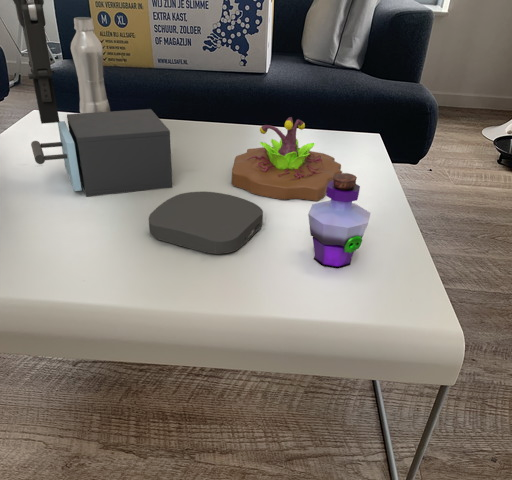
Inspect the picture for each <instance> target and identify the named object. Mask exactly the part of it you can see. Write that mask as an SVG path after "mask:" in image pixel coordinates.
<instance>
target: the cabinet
mask: <svg viewBox="0 0 512 480" xmlns="http://www.w3.org/2000/svg"><path fill="white" fill-rule="evenodd" d="M66 120H67V127H68V130H69V132H70V134H71V136H72V139H73V141H74V144H75V150H76V157H77V163H78V169H79V176H80V182H81V188H82V190H83V192H84V194H85V197H96V196H105V195H106V196H107V195H115V194H123V193H132V192H133V193H134V192H140V191H151V190H159V189H170V188H173V187H174V185H173V169H172V168H173V167H172V166H173V165H172V147H171V145H172V144H171V131H170V129H169V128H168V127H167V126H166V125H165V123H164V122H163V121H162V120H161V119H160V118H159V117H158V116H157V114H156V113H155V112H154V111H153V110H152V109H151V108H147V109H131V110H130V109H129V110H115V111H114V110H113V111H110V112H96V113H80V112H79V113H67V114H66ZM76 139H77V141H78V148H79V155H80V161H81V166H80V162H79V156H78V149H77V143H76ZM81 168H82V169H81Z"/></svg>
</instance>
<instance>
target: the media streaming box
mask: <svg viewBox="0 0 512 480" xmlns="http://www.w3.org/2000/svg"><path fill="white" fill-rule="evenodd" d="M263 217H264V211H263V209H262V208H261V206H259V205H258V204H256V203H254V202H252V201H250V200H247V199H245V198H242V197H238V196H235V195H232V194H226V193H222V192H215V191H204V190H203V191H190V192H189V191H188V192H183V193H179V194H176V195H173V196H172V197H170V198H168V199H166V200H165V201H164V202H162V203H161V204H159V205H158V206H157V207H155V209H154V210H153V211H151V213H150V214H149V215H148V228H149V234H150V235H151V236H152V237H153V238H154V239H157V240H159V241H162V242H166V243H169V244H173V245H176V246H180V247H184V248H187V249H191V250H196V251H199V252H204V253H208V254H217V255H218V254H219V255H220V254H221V255H222V254H229V253H233V252H235V251H237V250H238V249H240V248H241V247H242V246H244V244H246V243H247V242H248V241H249V240H250V239H251V238H252V237H253V236H254V235H255V234H256V233H257V232H258V231H259V230H260V229H261V228H262V226H263V221H264V220H263Z"/></svg>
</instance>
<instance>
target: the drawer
mask: <svg viewBox="0 0 512 480" xmlns="http://www.w3.org/2000/svg"><path fill="white" fill-rule="evenodd" d="M59 121H60V122H57V129H58V133H59V140H60V141H56V142H55V141H54V142H44V143H43V142H42V143H40V141H38V140H33V141H31V143H30V147H31V150H32V154H33V158H34V161H35V163H36V164H38V165H43V164H44V163H45V162H46V161H54V160H55V161H56V160H63V163H64V167H65V170H66V173H67V175H68V178H69V181H70V183H71V186H72V189H73V191H74V192H79V191H82V190H83V188H82V185H81V182H80V176H79V169H78V163H77V157H76V150H75V144H74V141H73V139H72V136H71V134H70V132H69V127H68V124H67V123H66V121H65V120H59ZM76 143H77V149H78V156H79V162H80V166H81V161H80V155H79V148H78V141H77V139H76ZM60 147H61V151H62V153H60V154H59V153H58V154H48V155H44V151H43V149H48V148H60ZM81 169H82V168H81Z"/></svg>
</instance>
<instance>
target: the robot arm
mask: <svg viewBox="0 0 512 480" xmlns="http://www.w3.org/2000/svg"><path fill="white" fill-rule="evenodd" d="M12 2H13V3H14V5H15V10H16V16H17V20H18V22H19V24H20V26H21V27H22V33H23V37H24V41H25V46H26V47H25V48H26V52H27V57H28V65H29V67H30V73H27V76H28V80H32V82H33V83H32V84H33V87H34V93H35V98H36V103H37V109H38V113H39V117H40V118H39V119H40V123H41V124H56V123H57V124H58V122H60V121H61V120H60V116H59V111H58V104H57V99H56V93H55V88H54V81H53V75H55V69H54V68H52V67H51V61H50V54H49V48H48V41H47V35H46V29H45V28H46V27H45V26H46V18H45V12H44V4H45V1H44V0H12Z"/></svg>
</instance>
